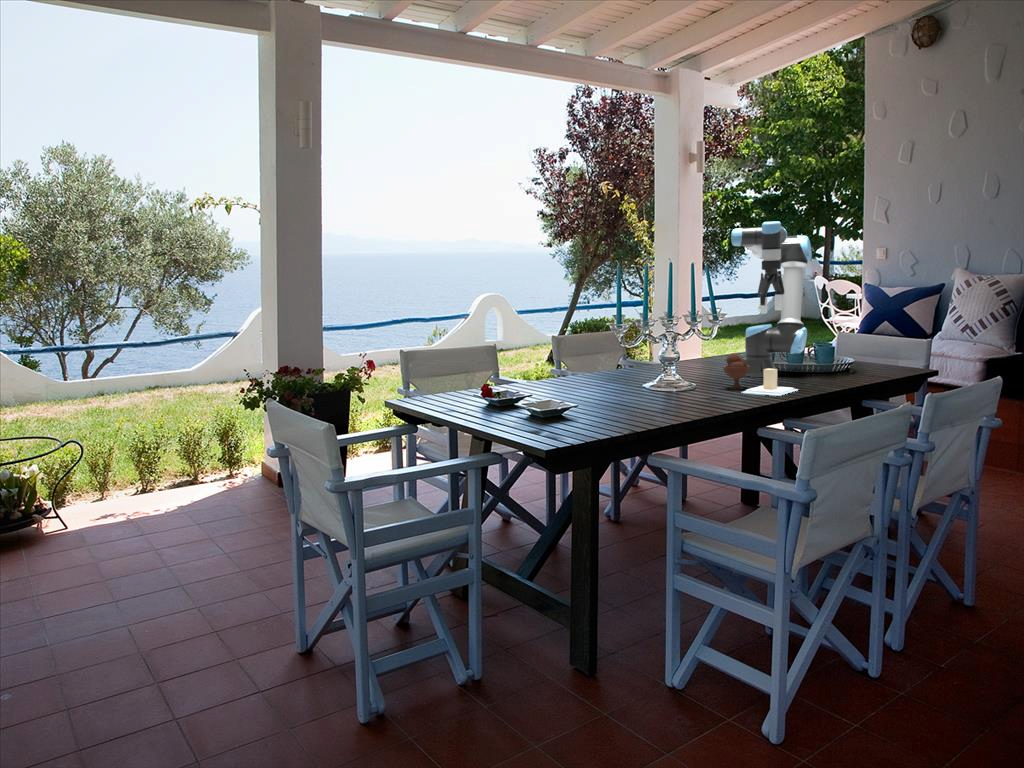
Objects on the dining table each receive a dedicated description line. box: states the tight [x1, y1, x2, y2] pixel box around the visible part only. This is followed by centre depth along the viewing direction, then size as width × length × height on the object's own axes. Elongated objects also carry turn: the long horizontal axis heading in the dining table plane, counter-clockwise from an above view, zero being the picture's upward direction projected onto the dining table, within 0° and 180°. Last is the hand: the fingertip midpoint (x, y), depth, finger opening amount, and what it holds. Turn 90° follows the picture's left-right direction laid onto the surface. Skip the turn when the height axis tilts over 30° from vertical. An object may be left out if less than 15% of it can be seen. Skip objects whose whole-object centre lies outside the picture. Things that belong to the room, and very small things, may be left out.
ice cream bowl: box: [722, 352, 750, 390], centre depth 355 cm, size 11×11×15 cm
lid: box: [745, 368, 795, 394], centre depth 343 cm, size 14×14×9 cm
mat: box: [741, 388, 800, 397], centre depth 343 cm, size 18×16×1 cm
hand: (771, 311), depth 350 cm, fingers open, 13 cm apart
